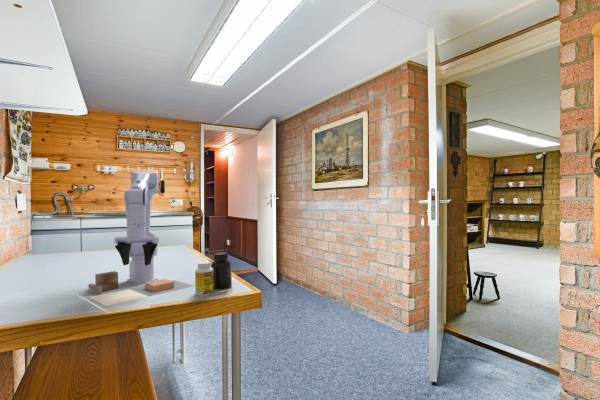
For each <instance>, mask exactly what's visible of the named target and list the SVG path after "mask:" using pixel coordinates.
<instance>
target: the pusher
mask: <svg viewBox="0 0 600 400" xmlns="http://www.w3.org/2000/svg"><path fill="white" fill-rule="evenodd" d="M94 277H95V278H94V279H95V283H88V286H87V287H88V289H87V290H88V291H89V292H92V293H94V294H96V296H99V295H103V292H107V291H111V290H112V291H113V290H117V289H119V272H118V271H115V270H114V271H108V272H101V273H95V276H94Z"/></svg>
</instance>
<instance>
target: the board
mask: <svg viewBox="0 0 600 400" xmlns="http://www.w3.org/2000/svg"><path fill="white" fill-rule="evenodd" d="M171 281H174V288H170V289H165V290H161V291H156V292H153V291H150V290H147V289H145V285H144V286H138V287H133V288H129V289H128V288H127V289H124V290H119V291H114V292H110V293H102V294H99V295H94V296H90V297H89V298H90V299H91V300H93V301H95V302H97V303H98V304H101V305H102V306H105V307H108V306H113V305H118V304H123V303H126V302H131V301H136V300H138V299H143V298H148V297H152V296H155V295H161V294H164V293H169V292H174V291H178V290H182V289H186V288H191V287H194V285H193V284H190V283H186V282H182V281H179V280H174V279H173V280H171Z"/></svg>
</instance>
